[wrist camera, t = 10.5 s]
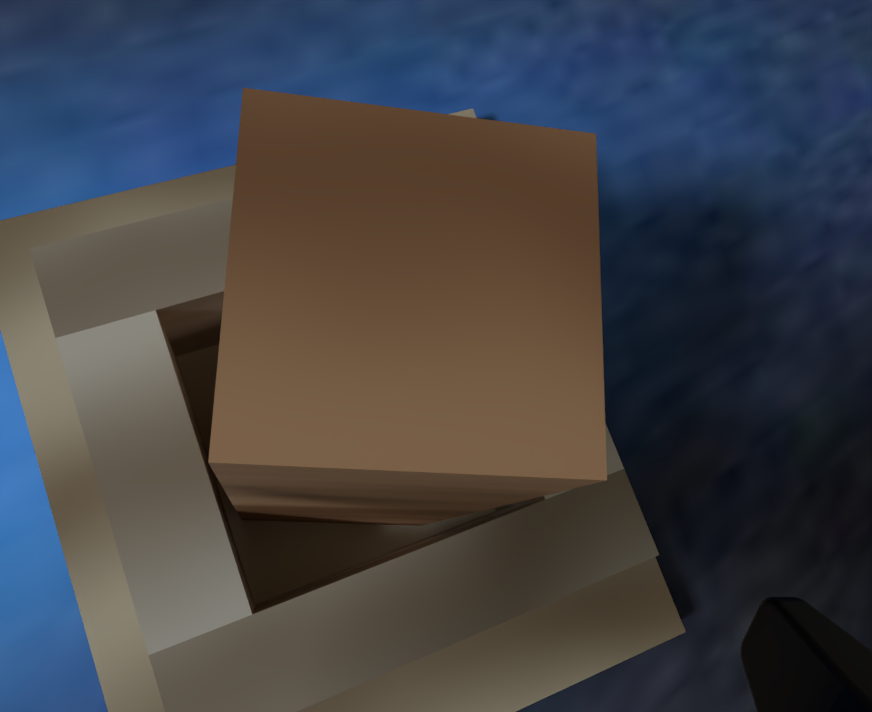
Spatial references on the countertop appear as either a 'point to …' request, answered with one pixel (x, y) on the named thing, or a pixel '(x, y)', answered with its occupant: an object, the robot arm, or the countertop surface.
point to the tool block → (277, 540)
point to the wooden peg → (406, 315)
